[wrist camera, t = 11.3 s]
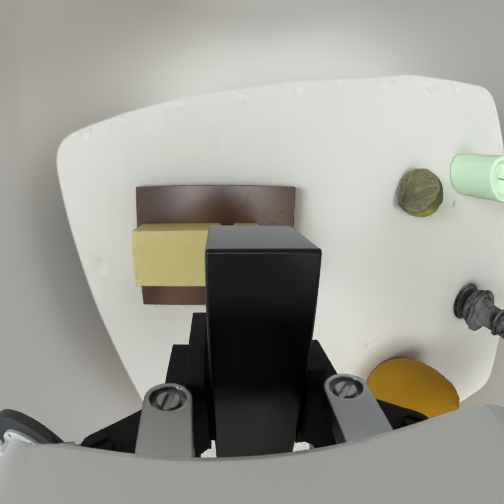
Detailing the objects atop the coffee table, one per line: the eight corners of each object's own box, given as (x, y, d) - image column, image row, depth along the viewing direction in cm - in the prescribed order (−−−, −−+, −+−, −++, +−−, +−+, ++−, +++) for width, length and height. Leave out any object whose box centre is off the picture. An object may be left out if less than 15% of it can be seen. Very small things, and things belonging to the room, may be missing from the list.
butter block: (145, 272, 26) (136, 286, 23) (142, 223, 25) (131, 231, 22) (220, 272, 27) (221, 286, 24) (220, 222, 26) (221, 230, 22)
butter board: (145, 300, 28) (143, 304, 27) (138, 186, 25) (135, 187, 24) (286, 298, 29) (288, 302, 28) (292, 186, 27) (295, 187, 26)
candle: (451, 196, 29) (501, 206, 21) (447, 155, 27) (498, 156, 20) (475, 192, 29) (522, 201, 21) (471, 153, 28) (519, 155, 20)
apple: (413, 389, 36) (457, 443, 24) (349, 415, 36) (385, 481, 23) (421, 330, 33) (482, 384, 21) (350, 358, 33) (400, 431, 20)
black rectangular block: (216, 381, 16) (221, 500, 8) (212, 205, 14) (204, 249, 6) (257, 380, 16) (282, 495, 9) (264, 205, 14) (323, 249, 6)
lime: (393, 215, 29) (421, 223, 24) (389, 169, 27) (418, 170, 22) (424, 210, 29) (453, 218, 24) (421, 167, 28) (451, 169, 23)
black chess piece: (455, 286, 32) (517, 324, 21) (480, 277, 33) (539, 308, 21) (449, 324, 34) (503, 367, 22) (474, 313, 34) (527, 349, 23)
